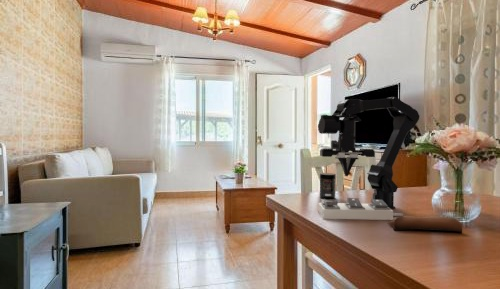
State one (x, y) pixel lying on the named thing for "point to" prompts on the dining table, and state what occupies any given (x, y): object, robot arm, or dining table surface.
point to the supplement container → (327, 185)
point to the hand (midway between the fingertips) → (346, 176)
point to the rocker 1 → (330, 203)
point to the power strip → (355, 212)
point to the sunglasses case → (426, 223)
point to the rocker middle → (354, 203)
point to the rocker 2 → (379, 203)
